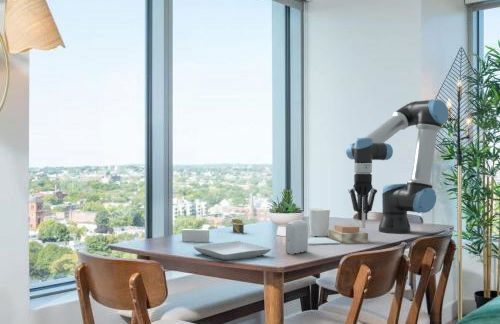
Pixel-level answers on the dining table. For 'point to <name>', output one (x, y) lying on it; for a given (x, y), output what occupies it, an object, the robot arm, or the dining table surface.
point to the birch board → (348, 237)
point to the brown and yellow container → (238, 225)
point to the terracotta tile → (346, 228)
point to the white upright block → (296, 236)
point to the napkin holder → (195, 235)
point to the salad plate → (232, 250)
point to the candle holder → (319, 222)
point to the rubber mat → (321, 241)
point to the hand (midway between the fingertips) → (362, 227)
